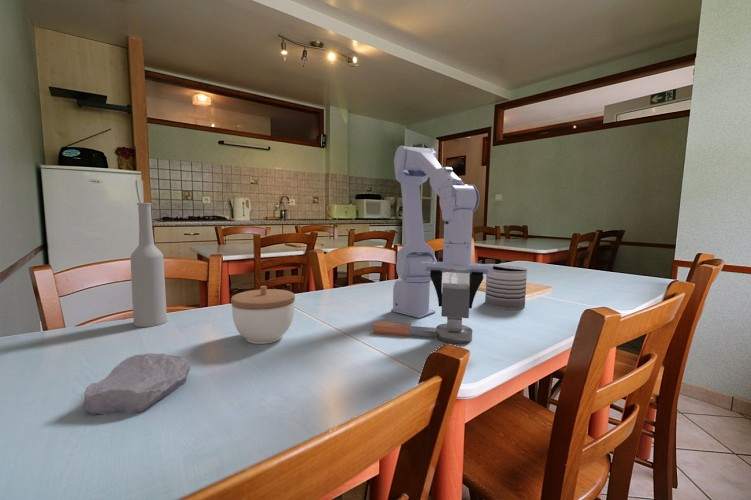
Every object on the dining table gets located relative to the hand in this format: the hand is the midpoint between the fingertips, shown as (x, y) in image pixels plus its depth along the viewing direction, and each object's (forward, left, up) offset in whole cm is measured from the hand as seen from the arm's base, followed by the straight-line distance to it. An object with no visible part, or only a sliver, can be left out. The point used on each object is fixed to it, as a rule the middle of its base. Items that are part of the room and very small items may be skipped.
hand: (454, 306), depth 75 cm
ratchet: (-6, -3, -7) cm, 10 cm away
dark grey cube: (0, 0, -2) cm, 2 cm away
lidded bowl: (-29, -28, -7) cm, 41 cm away
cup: (-22, +45, -7) cm, 51 cm away
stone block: (-22, -52, -7) cm, 57 cm away
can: (-3, +36, -7) cm, 37 cm away
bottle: (-57, -41, -7) cm, 71 cm away
